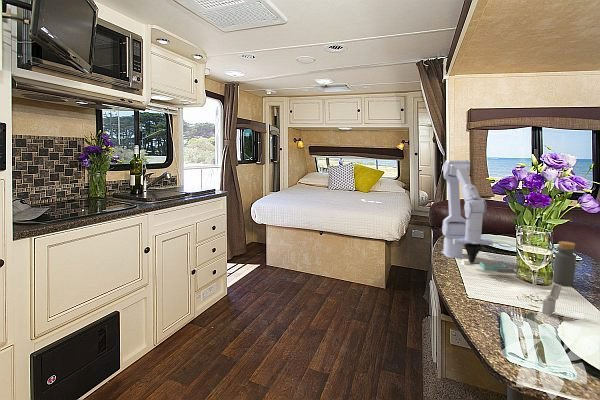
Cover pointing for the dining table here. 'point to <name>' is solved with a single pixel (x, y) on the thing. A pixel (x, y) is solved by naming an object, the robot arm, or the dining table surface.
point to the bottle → (564, 264)
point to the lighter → (551, 300)
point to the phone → (491, 266)
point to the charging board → (476, 269)
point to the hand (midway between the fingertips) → (471, 261)
